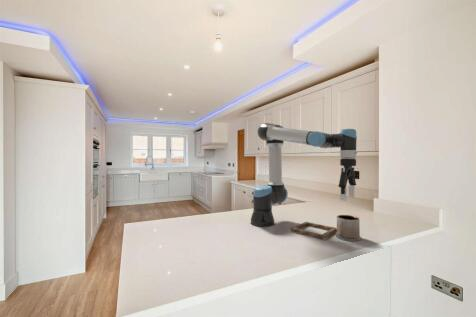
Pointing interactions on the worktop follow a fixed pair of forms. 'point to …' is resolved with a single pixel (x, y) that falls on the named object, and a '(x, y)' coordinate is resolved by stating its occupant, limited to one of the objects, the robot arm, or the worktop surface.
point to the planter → (348, 226)
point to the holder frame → (321, 236)
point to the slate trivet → (348, 238)
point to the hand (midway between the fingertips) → (347, 198)
